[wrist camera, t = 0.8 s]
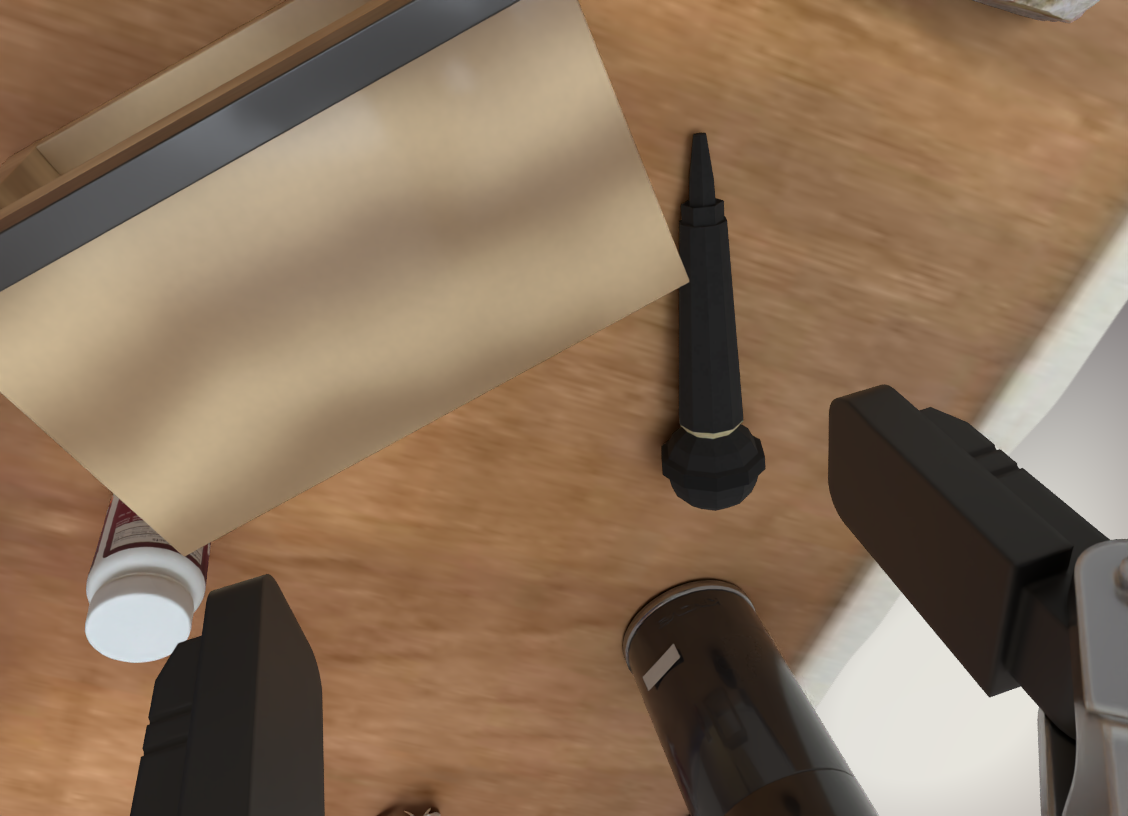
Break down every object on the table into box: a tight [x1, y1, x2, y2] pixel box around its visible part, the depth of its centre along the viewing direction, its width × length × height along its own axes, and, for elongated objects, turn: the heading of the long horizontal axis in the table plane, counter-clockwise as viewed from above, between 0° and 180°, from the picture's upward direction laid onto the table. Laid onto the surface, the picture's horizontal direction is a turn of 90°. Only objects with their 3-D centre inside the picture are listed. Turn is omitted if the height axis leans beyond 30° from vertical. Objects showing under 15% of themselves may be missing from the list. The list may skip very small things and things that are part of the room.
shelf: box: [0, 0, 689, 556], centre depth 29 cm, size 12×20×14 cm, turn 115°
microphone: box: [662, 133, 766, 511], centre depth 42 cm, size 6×6×20 cm
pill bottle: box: [85, 494, 211, 663], centre depth 38 cm, size 5×5×8 cm
